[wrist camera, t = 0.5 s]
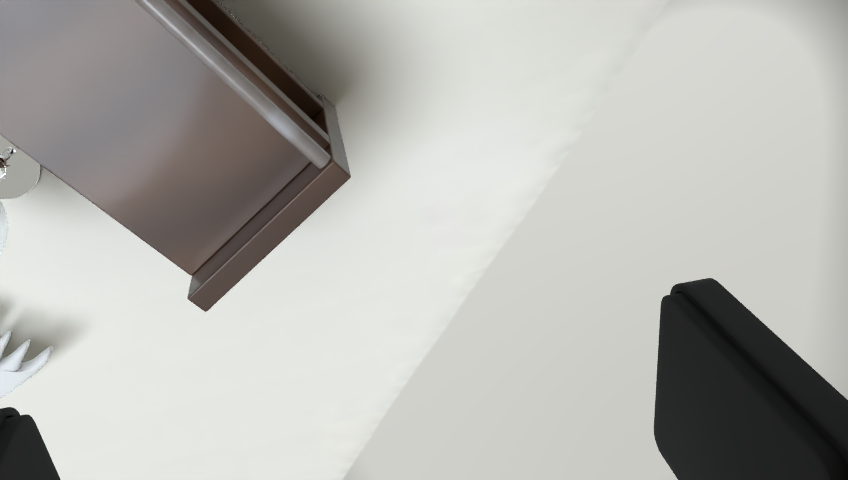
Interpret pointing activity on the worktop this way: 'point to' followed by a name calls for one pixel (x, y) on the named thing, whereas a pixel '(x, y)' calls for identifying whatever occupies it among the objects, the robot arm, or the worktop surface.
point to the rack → (170, 126)
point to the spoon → (18, 365)
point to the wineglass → (14, 179)
